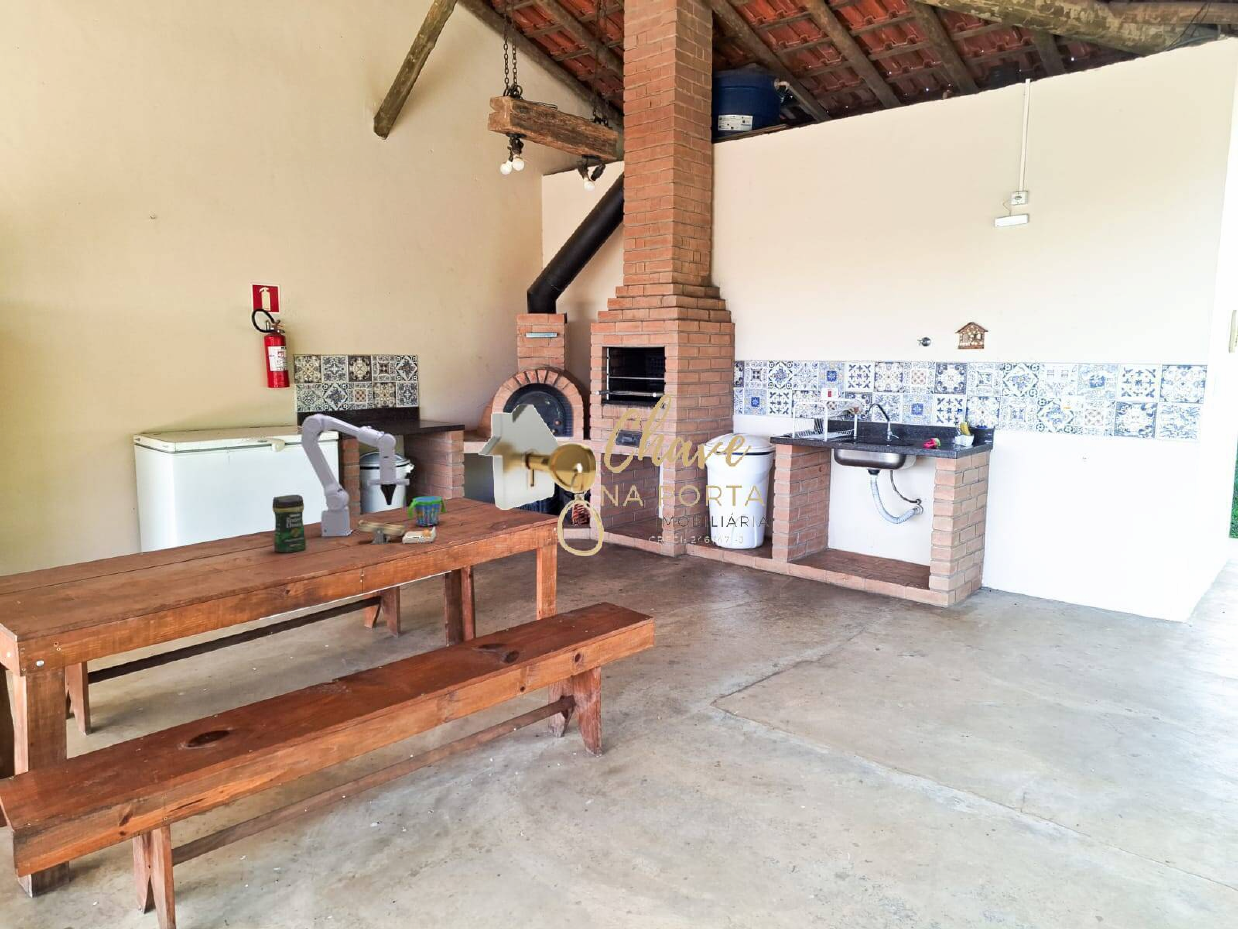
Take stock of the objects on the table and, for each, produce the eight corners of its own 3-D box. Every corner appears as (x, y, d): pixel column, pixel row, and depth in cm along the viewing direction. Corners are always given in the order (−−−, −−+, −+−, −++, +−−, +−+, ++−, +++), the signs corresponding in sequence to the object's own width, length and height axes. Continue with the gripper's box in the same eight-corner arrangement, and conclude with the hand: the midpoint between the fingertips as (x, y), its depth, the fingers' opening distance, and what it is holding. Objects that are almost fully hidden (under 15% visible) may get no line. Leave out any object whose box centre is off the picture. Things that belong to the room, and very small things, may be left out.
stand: (371, 544, 276) (371, 530, 276) (376, 538, 285) (375, 524, 284) (386, 543, 277) (386, 529, 276) (390, 538, 286) (390, 524, 285)
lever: (357, 530, 277) (358, 523, 276) (364, 522, 289) (365, 515, 289) (401, 535, 279) (402, 529, 278) (406, 527, 291) (407, 521, 291)
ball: (422, 530, 281) (430, 532, 281) (423, 528, 284) (431, 530, 284) (420, 538, 281) (429, 540, 281) (421, 536, 284) (430, 538, 284)
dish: (402, 543, 277) (402, 534, 276) (406, 537, 287) (406, 527, 286) (432, 543, 278) (431, 533, 278) (435, 536, 288) (435, 526, 287)
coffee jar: (280, 554, 263) (277, 499, 260) (271, 550, 269) (268, 495, 266) (310, 549, 269) (306, 495, 267) (300, 545, 275) (297, 492, 272)
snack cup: (438, 519, 316) (437, 494, 315) (452, 523, 309) (452, 497, 307) (402, 525, 306) (401, 499, 304) (416, 530, 298) (415, 503, 296)
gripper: (364, 469, 286) (366, 507, 288) (406, 469, 287) (408, 506, 289) (368, 466, 293) (370, 503, 295) (409, 466, 294) (410, 502, 296)
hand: (389, 504), depth 292 cm, fingers closed
